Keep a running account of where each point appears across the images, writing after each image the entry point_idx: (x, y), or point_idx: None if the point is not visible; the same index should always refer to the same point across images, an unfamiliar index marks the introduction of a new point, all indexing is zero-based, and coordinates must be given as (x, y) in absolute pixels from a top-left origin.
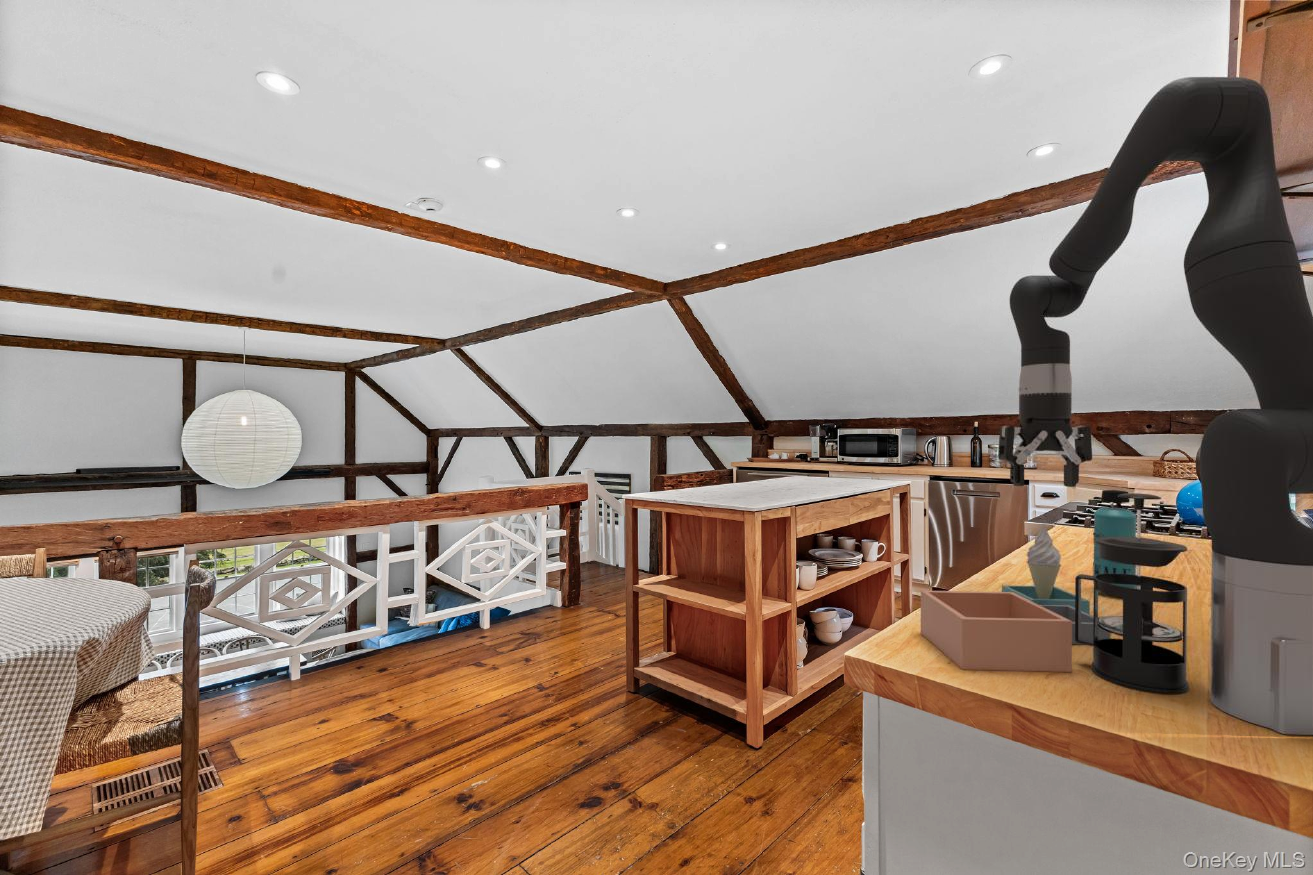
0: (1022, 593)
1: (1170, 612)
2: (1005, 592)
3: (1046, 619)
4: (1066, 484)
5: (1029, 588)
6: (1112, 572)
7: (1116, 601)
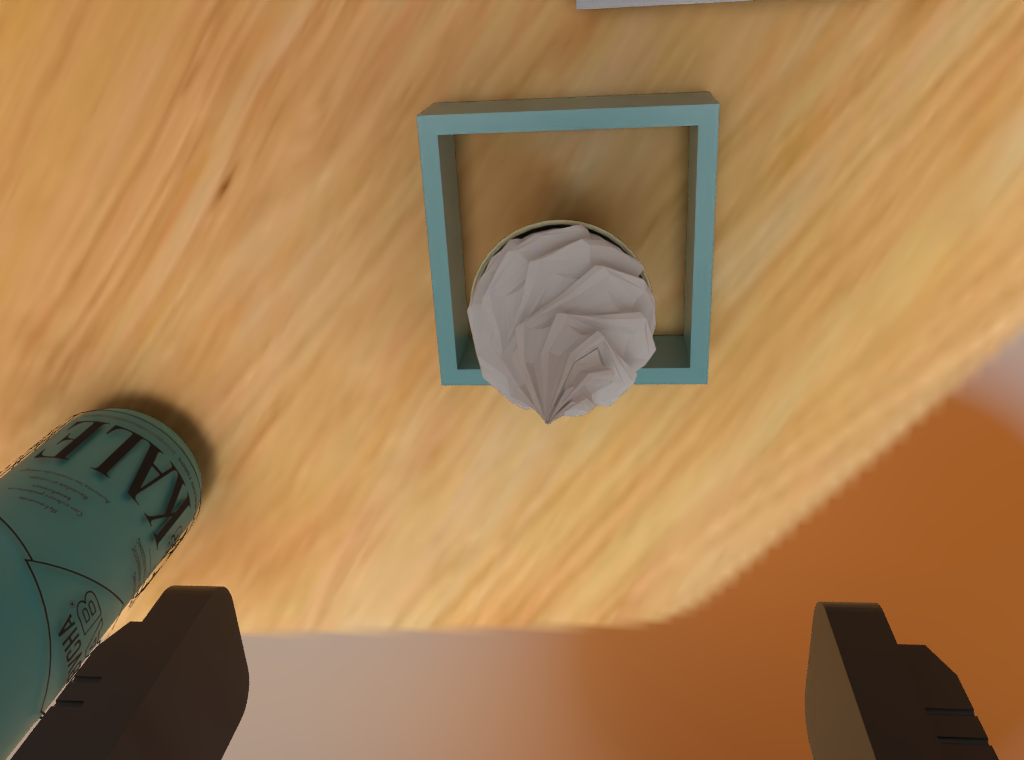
0: None
1: (26, 247)
2: None
3: None
4: (236, 668)
5: None
6: (119, 466)
7: (170, 393)
